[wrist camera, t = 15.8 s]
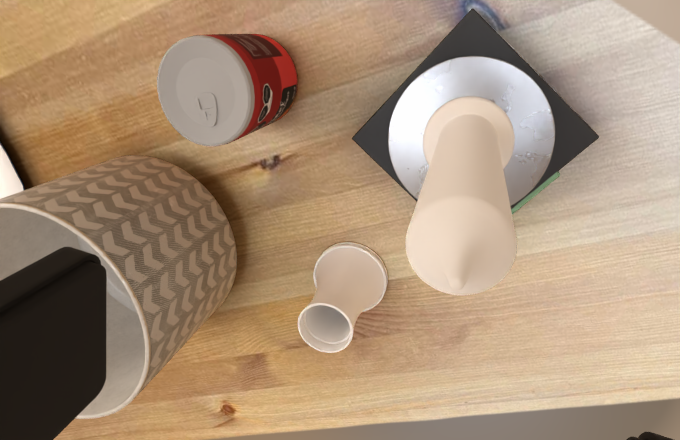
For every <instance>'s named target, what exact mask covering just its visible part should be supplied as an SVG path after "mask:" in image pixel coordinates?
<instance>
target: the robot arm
mask: <svg viewBox="0 0 680 440" xmlns="http://www.w3.org/2000/svg"><path fill="white" fill-rule="evenodd" d="M106 291H107V274H106V269H105V267H104V266H102V265H101V261H100V259H99V257H98V256H96V255H94V254H91V253H88V252H85V251H82V250H79V249H75V248H72V247H63V248H60V249H58V250H56V251H54V252H53V253H51V254H49V255H47V256H45V257H43V258H41V259H40V260H38V261H36V262H34V263H32V264H30V265H28V266H27V267H25V268H23V269H21V270H19V271H17V272H15V273H14V274H12V275H10V276H8V277H6V278H4V279H3V280H1V281H0V440H53V439H54V438H55V437H56V436H57V435H58V434H59V433H60V432H61V431H62V430H63V429H64V428H65V427H66V426H67V425H68V424H69V423H70V422H71V421H73V420H74V419H75V418H76V417H77V416H78V415H79V414H80V413H81V412H82V411H83V410H84V409H85V408H86V407H87V406H88V405H89V404H90V403H91V402H92V401H93V400H94V399H95V398H96V397H97V396H98V395H99V393H100V392H101V390H102V388H103V386H104V384H105V381H106ZM627 440H673V439H670V438H667V437H664V436H661V435H658V434H654V433H651V432H644V433H642V434H641V435H640V436H639V437H638V438H636V437H630V438H628V439H627Z"/></svg>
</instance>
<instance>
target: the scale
mask: <svg viewBox="0 0 680 440" xmlns="http://www.w3.org/2000/svg"><path fill="white" fill-rule="evenodd" d="M467 96H473V97H480V98H484V99H487V100H489V101H491V102H493V103H495V104H496V105H498V106H499V107H500V108H501V109H502V110H503V111H504V112H505V113H506V114H507V116H508V118H509V119H510V121H511V124H512V126H513V130H514V136H515V143H514V149H513V153H512V156H511V158H510V160H509V162H508V163H507V165H506V166H505V168H504V169H503V171H504V176H505V181H506V186H507V192H508V197H509V202H510V207H511V212H512V214H513V213H514V212H516V211H517V210H518V209H519V208H521V207H522V206H523V205H524V204H526V203H527V202H528V201H529V200H530V199H532V198H533V197H534V196H535V195H537V194H538V193H539V192H540V191H541V190H543V189H544V188H545V187H546V186H548V185H549V184H550V183H551V182H553V181H554V180H555V179H556V178H557V177H559V176H560V173H559V172H558V171H559V170H560V169H561V168H562V167H564V166H565V165H566V164H567V163H568V162H570V161H571V160H572V159H573V158H575V157H576V156H577V155H578V154H579V153H581V152H582V151H583V150H584V149H586V148H587V147H588V146H589V145H590V144H592V143H593V142H594V141H595V140H597V139H598V138H599V136H598V135H597V134H596V133H595V132H594V131H593V130H592V129H591V128H590V127H589V126H588V125H587V124H586V123H585V122H584V121H583V120H582V119H581V118H580V117H579V116H578V115H577V114H576V113H575V112H574V111H573V110H572V109H571V108H570V106H569V105H568V104H567V103H566V102H565V101H564V100H563V99H562V98H561V97H560V96H559V95H558V94H557V93H556V92H555V91H554V90H553V89H552V88H551V87H550V86H549V85H548V84H547V83H546V82H545V81H544V80H543V79H542V78H541V77H540V76H539V75H538V74H537V73H536V72H535V71H534V70H533V69H532V68H531V67H530V66H529V65H528V64H527V63H526V62H525V61H524V60H523V59H522V58H521V57H520V56H519V55H518V54H517V53H516V52H515V51H514V50H513V49H512V48H511V47H510V46H509V45H508V44H507V43H506V42H505V41H504V40H503V39H502V38H501V36H500V35H499V34H498V33H497V32H496V31H495V30H494V29H493V28H492V27H491V26H490V25H489V24H488V23H487V22H486V21H485V20H484V19H483V18H482V17H481V16H480V15H479V14H478V13H477V12H476V11H475V10H474V9H471V10H470V11H469V13H468V14H467V15H466V16H465V17H464V18H463V19H462V20H461V21H460V22H459V23H458V24H457V26H456V27H455V28H454V29H453V30H452V31H451V32H450V33H449V34H448V35H447V36H446V37H445V38H444V40H443V41H442V42H441V43H440V44H439V45H438V46H437V47H436V48H435V49H434V50H433V51H432V52H431V54H430V55H429V56H428V57H427V58H426V59H425V60H424V61H423V62H422V63H421V64H420V65H419V66H418V68H417V69H416V70H415V71H414V72H413V73H412V74H411V75H410V76H409V77H408V78H407V79H406V81H405V82H404V83H403V84H402V85H401V86H400V87H399V88H398V89H397V90H396V91H395V92H394V93H393V95H392V96H391V97H390V98H389V99H388V100H387V101H386V102H385V103H384V104H383V105H382V106H381V107H380V109H379V110H378V111H377V112H376V113H375V114H374V115H373V116H372V117H371V118H370V119H369V120H368V121H367V123H366V124H365V125H364V126H363V127H362V128H361V129H360V130H359V131H358V132H357V133H356V134H355V136H354V137H353V138H352V139H353V140H354V141H355V142H356V143H357V144H358V145H359V146H360V147H361V148H362V149H363V150H364V151H365V152H366V153H367V154H368V155H369V156H370V157H371V158H372V159H373V160H375V161H376V162H377V163H378V164H379V165H380V166H381V167H382V168H383V169H384V170H385V171H386V172H387V173H388V174H389V175H390V176H391V177H392V178H393V179H394V180H395V181H396V182H397V183H398V184H399V185H400V186H401V187H402V188H403V189H404V190H406V191H407V192H408V193H409V194H410V195H411V196H412V197H413V198H414V199H415V200H416V201H418V198H419V195H420V192H421V189H422V186H423V183H424V180H425V177H426V174H427V171H428V168H429V164H428V162H427V161H426V158H425V155H424V152H423V134H424V130H425V127H426V125H427V123H428V121H429V119H430V118H431V116H432V115H433V114H434V112H435V111H436V110H437V109H438V108H440V107H441V106H442V105H444V104H445V103H447V102H449V101H451V100H453V99H456V98H460V97H467Z"/></svg>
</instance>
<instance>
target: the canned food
mask: <svg viewBox="0 0 680 440" xmlns="http://www.w3.org/2000/svg"><path fill="white" fill-rule="evenodd" d="M297 83H298V82H297V73H296V69H295V66H294V63H293V61H292V59H291V57H290V56H289V54H288V53H287V51H286V50H285V49H284V48H283V47H282V46H281V45H280V44H279V43H277V42H276V41H274V40H273V39H271V38H269V37H267V36H264V35H259V34H218V35H196V36H191V37H187V38H184V39H181V40H180V41H178V42H176V43H175V44H173V45H172V46H171V47H170V48H169V49H168V51H167V52H166V53H165V55H164V57H163V58H162V61H161V64H160V66H159V70H158V77H157V90H158V96H159V101H160V103H161V106H162V109H163V111H164V113H165V115H166V117H167V119H168V120H169V122H170V123H171V124H172V126H173V127H174V128H175V129H176V130H177V131H178V132H179V133H180V134H181V135H182V136H184V137H185V138H186V139H188V140H189V141H192V142H194V143H196V144H199V145H203V146H219V145H224V144H228V143H230V142H232V141H235V140H237V139H239V138H241V137H243V136H245V135H248V134H250V133H252V132H254V131H256V130H258V129H260V128H262V127H264V126H266V125H269V124H271V123H273V122H275V121H277V120H279V119H280V118H282V117H283V116H284V115H285V114H286V113H287V112H288V111H289V109H290V108H291V106H292V104H293V102H294V99H295V96H296V92H297Z"/></svg>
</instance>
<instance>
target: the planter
mask: <svg viewBox="0 0 680 440" xmlns="http://www.w3.org/2000/svg"><path fill="white" fill-rule="evenodd" d="M63 247H72V248H75V249H79V250H82V251H85V252H88V253H91V254H94V255H96V256H98V257H99V259H100V261H101V265H102V266H104V267H105V269H106V274H107V291H106V381H105V384H104V386H103V388H102V390H101V392H100V393H99V395H98V396H97V397H96V398H95V399H94V400H93V401H92V402H91V403H90V404H89V405H88V406H87V407H86V408H85V409H84V410H83V411H82V412H81V413H80V414H79V415H78V416H77V417H76V419H93V418H100V417H104V416H108V415H110V414H113V413H115V412H117V411H119V410H121V409H122V408H124V407H125V406H127V405H128V404H129V403H130V402H131V401H132V400H133V399H134V398H135V397H136V396H137V395H138V394H139V393H140V392H141V391H142V390H143V389H144V388H145V387H146V385H147V384H148V383H149V382H150V381H151V380H152V379H153V378H154V377H155V376H156V375H157V374H158V372H159V371H160V370H161V369H162V368H163V367H164V366H165V365H166V364H167V363H168V362H169V361H170V359H171V358H172V357H173V356H174V355H175V354H176V353H177V352H178V351H179V350H180V349H181V348H182V346H183V345H184V344H185V343H186V342H187V341H188V340H189V339H190V338H191V337H192V336H193V335H194V333H195V332H196V331H197V330H198V329H199V328H200V327H201V326H202V325H203V324H204V323H205V322H206V320H207V319H208V318H209V317H210V316H211V315H212V314H213V313H214V312H215V311H216V310H217V309H218V307H219V306H220V305H221V304H222V303H223V302H224V300H225V299H226V297H227V296H228V294H229V292H230V290H231V288H232V286H233V283H234V279H235V275H236V269H237V251H236V244H235V239H234V236H233V232H232V229H231V227H230V224H229V222H228V219H227V217H226V215H225V214H224V212H223V210H222V208H221V207H220V205H219V204H218V202H217V201H216V200H215V198H214V197H213V196H212V194H211V193H210V192H209V191H208V190H207V189H206V188H205V187H204V186H203V185H202V184H201V183H200V182H199V181H198V180H197V179H195V178H194V177H193V176H192V175H190V174H189V173H187V172H186V171H185V170H183V169H181V168H179V167H178V166H176V165H174V164H172V163H169V162H167V161H164V160H161V159H158V158H154V157H150V156H143V155H129V156H121V157H117V158H114V159H111V160H108V161H105V162H102V163H100V164H97V165H94V166H91V167H88V168H86V169H83V170H80V171H77V172H74V173H72V174H69V175H66V176H63V177H60V178H58V179H55V180H52V181H49V182H46V183H44V184H41V185H38V186H35V187H32V188H30V189H27V190H24V191H21V192H18V193H16V194H13V195H10V196H7V197H4V198H1V199H0V281H1V280H3V279H4V278H6V277H8V276H10V275H12V274H14V273H15V272H17V271H19V270H21V269H23V268H25V267H27V266H28V265H30V264H32V263H34V262H36V261H38V260H40V259H41V258H43V257H45V256H47V255H49V254H51V253H53V252H54V251H56V250H58V249H60V248H63Z"/></svg>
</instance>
